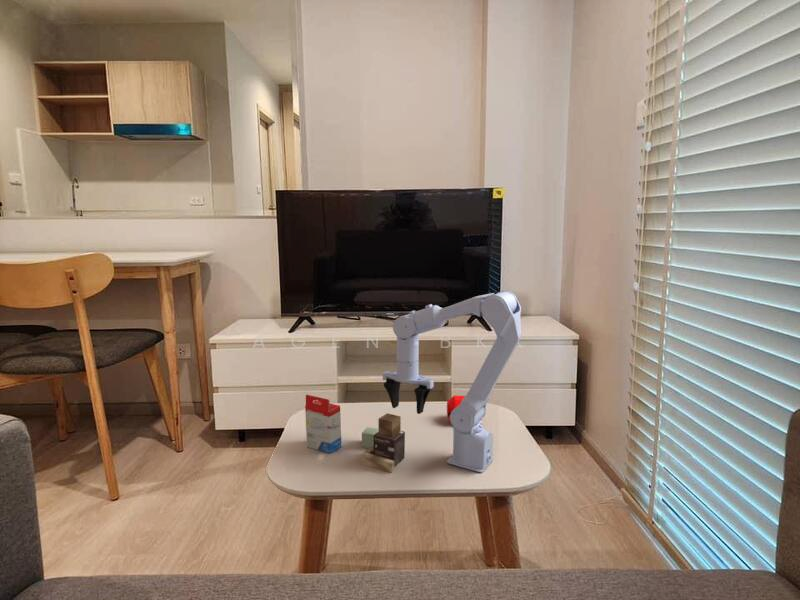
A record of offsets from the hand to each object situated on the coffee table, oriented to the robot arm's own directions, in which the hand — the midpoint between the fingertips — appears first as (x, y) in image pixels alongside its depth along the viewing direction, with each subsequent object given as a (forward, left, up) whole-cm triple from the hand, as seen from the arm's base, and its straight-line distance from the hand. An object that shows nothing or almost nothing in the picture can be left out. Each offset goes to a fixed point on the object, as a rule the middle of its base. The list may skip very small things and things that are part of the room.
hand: (407, 409), depth 126 cm
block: (+9, +4, -10) cm, 14 cm away
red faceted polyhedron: (-5, -23, -11) cm, 26 cm away
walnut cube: (0, +9, -3) cm, 9 cm away
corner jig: (0, +9, -10) cm, 14 cm away
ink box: (+19, +12, -11) cm, 25 cm away
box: (0, +9, -11) cm, 14 cm away
